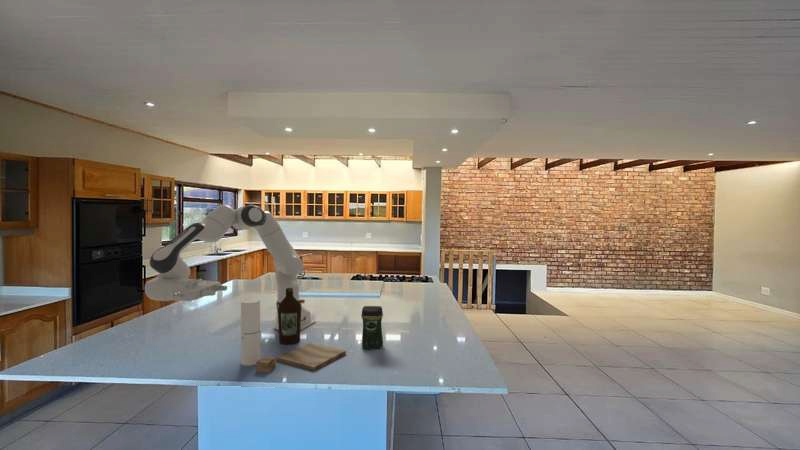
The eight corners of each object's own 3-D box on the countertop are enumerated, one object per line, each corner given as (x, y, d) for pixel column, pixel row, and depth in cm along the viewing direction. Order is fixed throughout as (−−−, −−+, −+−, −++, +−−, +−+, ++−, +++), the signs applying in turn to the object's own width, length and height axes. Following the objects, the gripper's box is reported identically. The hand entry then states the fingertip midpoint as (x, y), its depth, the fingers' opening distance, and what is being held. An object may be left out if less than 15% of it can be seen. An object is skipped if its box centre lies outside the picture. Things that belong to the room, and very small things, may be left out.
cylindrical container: (253, 366, 150) (253, 303, 149) (237, 364, 151) (237, 302, 150) (263, 359, 157) (263, 299, 156) (248, 358, 158) (247, 298, 157)
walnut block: (264, 366, 150) (264, 356, 150) (275, 367, 149) (275, 357, 149) (256, 371, 145) (256, 361, 145) (268, 373, 144) (268, 362, 144)
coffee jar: (383, 344, 176) (384, 304, 175) (381, 350, 168) (382, 308, 167) (363, 343, 176) (363, 303, 176) (360, 349, 168) (360, 308, 168)
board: (310, 346, 173) (310, 342, 173) (345, 354, 163) (345, 350, 163) (276, 360, 155) (276, 357, 155) (313, 370, 146) (313, 367, 146)
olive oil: (278, 338, 183) (278, 286, 182) (301, 336, 186) (301, 285, 185) (276, 345, 173) (276, 291, 172) (301, 344, 175) (300, 290, 174)
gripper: (170, 287, 143) (206, 287, 143) (200, 278, 164) (232, 278, 163) (170, 303, 144) (206, 304, 143) (200, 292, 164) (232, 293, 164)
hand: (220, 290), depth 153 cm, fingers open, 8 cm apart
